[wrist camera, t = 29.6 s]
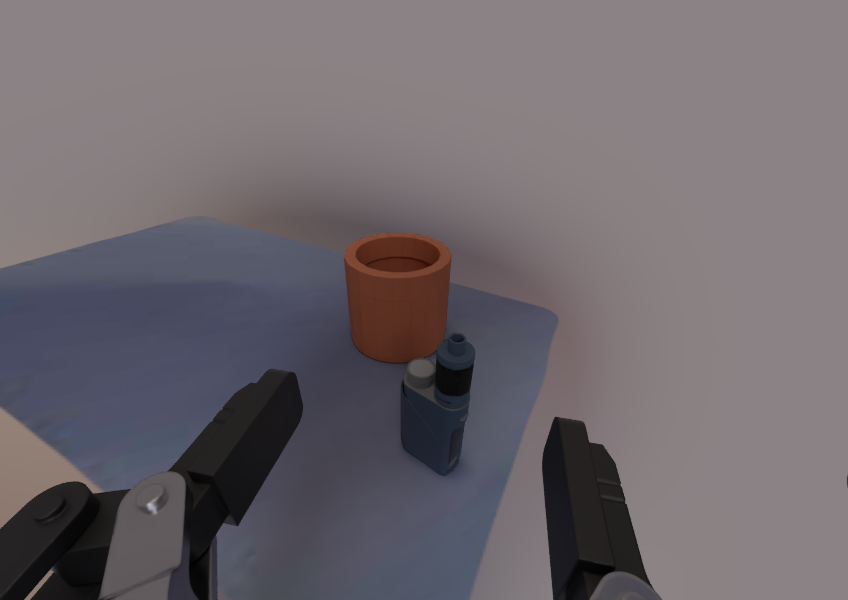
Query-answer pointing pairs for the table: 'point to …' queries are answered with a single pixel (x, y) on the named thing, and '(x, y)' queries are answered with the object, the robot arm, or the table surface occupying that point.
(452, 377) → the vaping device
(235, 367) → the table surface
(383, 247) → the terracotta planter pot
